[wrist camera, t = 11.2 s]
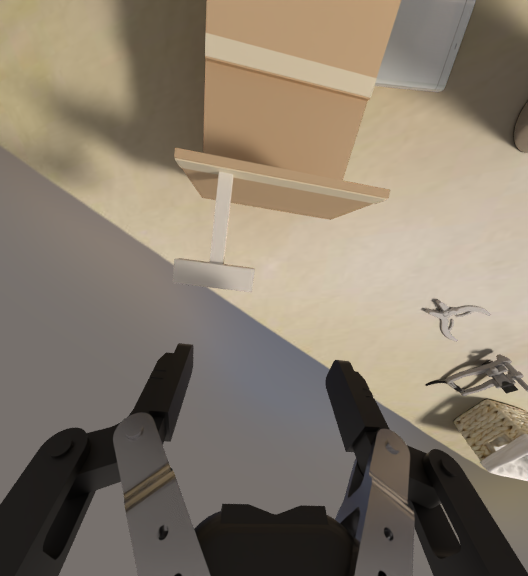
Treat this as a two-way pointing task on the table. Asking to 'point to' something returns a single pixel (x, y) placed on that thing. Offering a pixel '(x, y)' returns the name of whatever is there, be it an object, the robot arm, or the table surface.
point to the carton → (291, 79)
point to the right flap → (258, 193)
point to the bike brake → (492, 370)
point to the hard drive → (424, 44)
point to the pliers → (447, 312)
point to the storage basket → (497, 437)
